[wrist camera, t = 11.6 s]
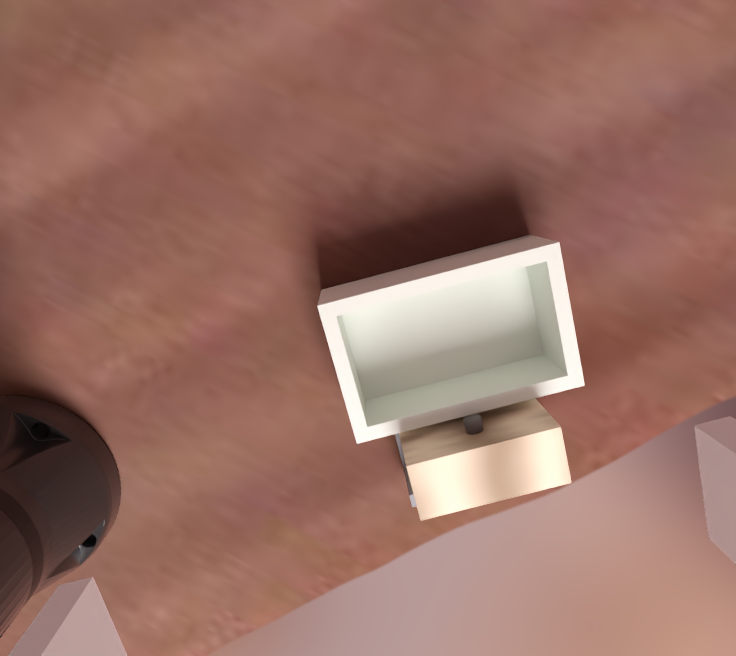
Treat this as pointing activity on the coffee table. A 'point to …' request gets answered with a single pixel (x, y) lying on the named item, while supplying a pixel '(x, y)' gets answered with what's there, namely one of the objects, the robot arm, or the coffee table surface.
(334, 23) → the coffee table surface
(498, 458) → the knobbed wooden block
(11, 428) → the robot arm
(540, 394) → the box
